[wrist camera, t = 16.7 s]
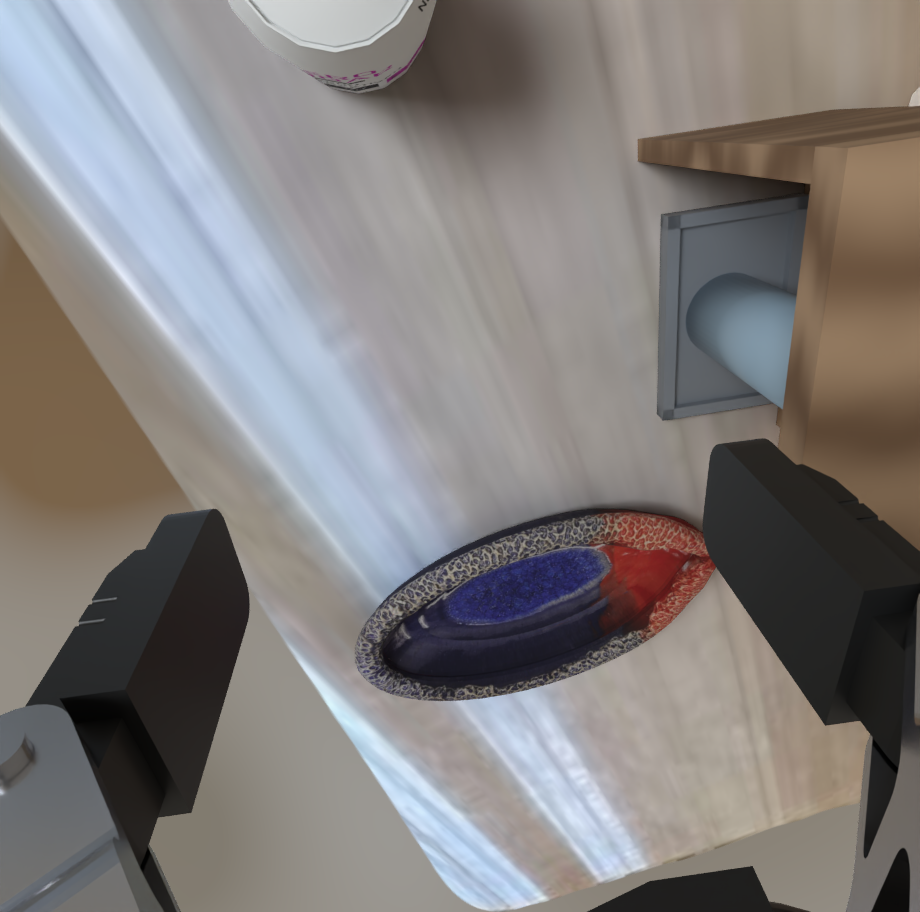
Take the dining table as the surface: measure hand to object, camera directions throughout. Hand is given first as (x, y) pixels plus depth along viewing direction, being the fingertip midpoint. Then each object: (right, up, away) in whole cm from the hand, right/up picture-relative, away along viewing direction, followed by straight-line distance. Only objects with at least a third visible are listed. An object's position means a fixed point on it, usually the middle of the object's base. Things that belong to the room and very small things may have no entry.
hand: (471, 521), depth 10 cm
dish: (+6, -10, +43) cm, 44 cm away
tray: (+18, +11, +33) cm, 39 cm away
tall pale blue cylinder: (+18, +11, +32) cm, 38 cm away
